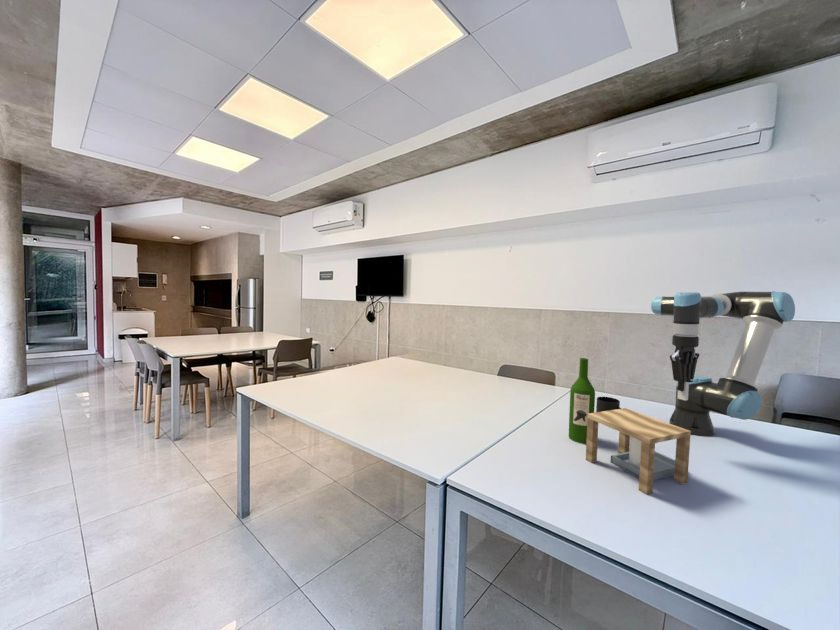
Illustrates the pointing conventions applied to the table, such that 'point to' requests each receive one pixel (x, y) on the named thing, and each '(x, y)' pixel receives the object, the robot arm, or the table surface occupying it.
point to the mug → (607, 404)
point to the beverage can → (635, 452)
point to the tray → (661, 465)
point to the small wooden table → (648, 434)
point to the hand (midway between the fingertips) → (682, 399)
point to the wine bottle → (581, 404)
